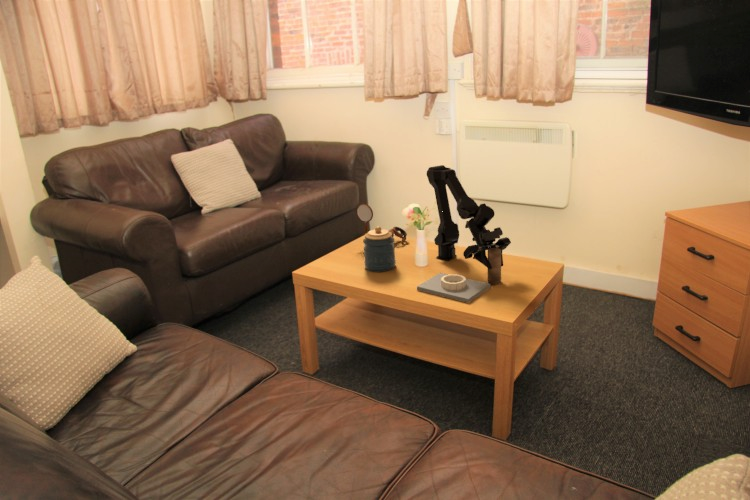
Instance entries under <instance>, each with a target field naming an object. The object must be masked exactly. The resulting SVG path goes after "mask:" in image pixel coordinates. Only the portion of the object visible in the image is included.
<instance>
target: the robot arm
mask: <svg viewBox="0 0 750 500" xmlns="http://www.w3.org/2000/svg"><path fill="white" fill-rule="evenodd" d="M426 176H427V179H428V183H429V184H430V185H431V187H432V188H434V189H433V190H434V194H435V200H436V206H437V212H438V216H439V225H438V228H437V234H436V236H435V238H434V239H433V241H434V244H435V246H437V250H438V251H437V252H438V253H437V256H436V257H435V258H436V259H439V260H444V261H451V260H453V259H454V258H456V257H457V254H456V247H455V244H458V242H459V239H460V231H459V225H458V223H455V222H454V220H453V218H452V213H451V207H450V201H449V197H448V196H449V195H448V192H447V190H449V191H450V193H451V195H452V197H453V198H454V200H455V202H456V212H457V214H458V216H459V217H460V218H461V219H462V220H467V219H469V220H467V221H465V226H464V227H465V229H469V231H470V233H471V235H472V242H475V243H476V244H472V245H468V246H467V247H466V248H465V249H464V251H463V253H462V254H463V257H464V259H465V260H467V259H473V260H476V261H478V262H479V263H481V264H482V265H483V266H484V267H486V268H487V270H488V269H492V267H491V265H490V263H489V261H488V255H487V253H486V251H488V249H490V248H498V249H501V268H503V266H504V259H503V251H504V250H506V249H507V248H508V247H509V246H510V245H511V243H512V242H511V239H510V238H509V237H507V236H506V237H502V238H501V236H503V234H504V233H503V230H502V228H501V226H500V227H495V228H494V229H493V230H492V231H491V230H490V229H487V228H486V226H487V225H488V224H489V223H490V221H491V220H492V219H493V218H494V216H495V211H494V209H493V208H492V207H490V206H488V205H487V204H486V203H480V204H479V205H478V203H477V202H476V201H475V200H474V199H473V198H471V197H470V196H469V195H468V194H467V192H466V190H465V189H464V187H463V185H462V184H461V181H460V180H459V178H458V176H457V173H456V171H455V169H452V168H451V167H447V166H446V165H443V164H442V165H441V164H440V165H434V166H429V167H428V169H427V171H426ZM447 187H448V189H447ZM442 211H443V212H442ZM496 239H498V240H497V241H496Z"/></svg>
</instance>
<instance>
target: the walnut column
mask: <svg viewBox="0 0 750 500" xmlns="http://www.w3.org/2000/svg"><path fill="white" fill-rule="evenodd" d="M487 258H488V261H489V263H490V265H491V267H492V269H488V268H487V283H489V284H490V286H499V285H501V283H502V267H501V249H498V248H490V249H488V250H487Z"/></svg>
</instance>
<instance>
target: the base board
mask: <svg viewBox="0 0 750 500" xmlns="http://www.w3.org/2000/svg"><path fill="white" fill-rule="evenodd" d="M489 289H491V285H490V284H489V283H488V282H485V281H480V280H475V279H470V278H466V277H465V276H464V275H461V274H456V273H455V274H449V273H443V272H439V273H437V274H435V275H434V276H432V277H431V278H429V279H426V281H424V282H422V283H420V284H418V285H417V286H416V291H418V292H419V291H420V292H423V293H427V294H432V295H435V296H438V297H443V298H448V299H451V300H456V301H460V302H463V303H466V304H469V303H470V302H472V301H473V300H475V299H476V298H478V297H479V296H480V295H482V294H483V293H485V292H486V291H487V290H489Z"/></svg>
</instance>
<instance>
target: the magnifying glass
mask: <svg viewBox="0 0 750 500" xmlns="http://www.w3.org/2000/svg"><path fill="white" fill-rule="evenodd" d="M356 215H357V218H358V219H359V220H360V221H361V222H362V223H363V224H364V225H363V226H364V235H365V234H366V233H368V223H369V222H371V221H372V219H373V218H374V211H373V209H372V208H371V206H370V205H368V204H366V203H361V204H359V205H358V206H357V208H356ZM365 238H366V237H365V236H364V239H365Z"/></svg>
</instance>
